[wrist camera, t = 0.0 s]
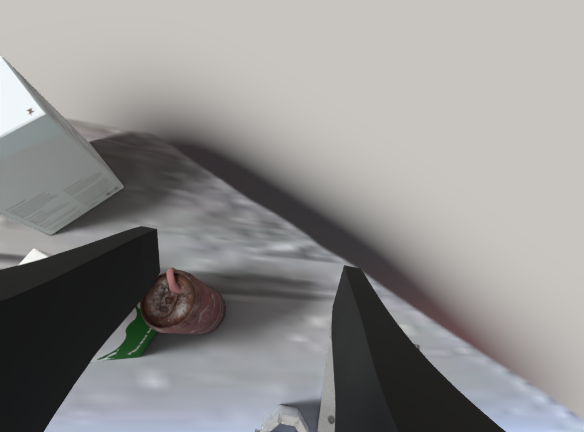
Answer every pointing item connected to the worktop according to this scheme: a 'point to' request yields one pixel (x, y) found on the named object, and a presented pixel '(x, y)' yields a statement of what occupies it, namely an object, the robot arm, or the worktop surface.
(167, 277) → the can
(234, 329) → the worktop surface
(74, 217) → the supplement box
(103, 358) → the milk carton
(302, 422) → the sleeve
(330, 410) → the duct plate
